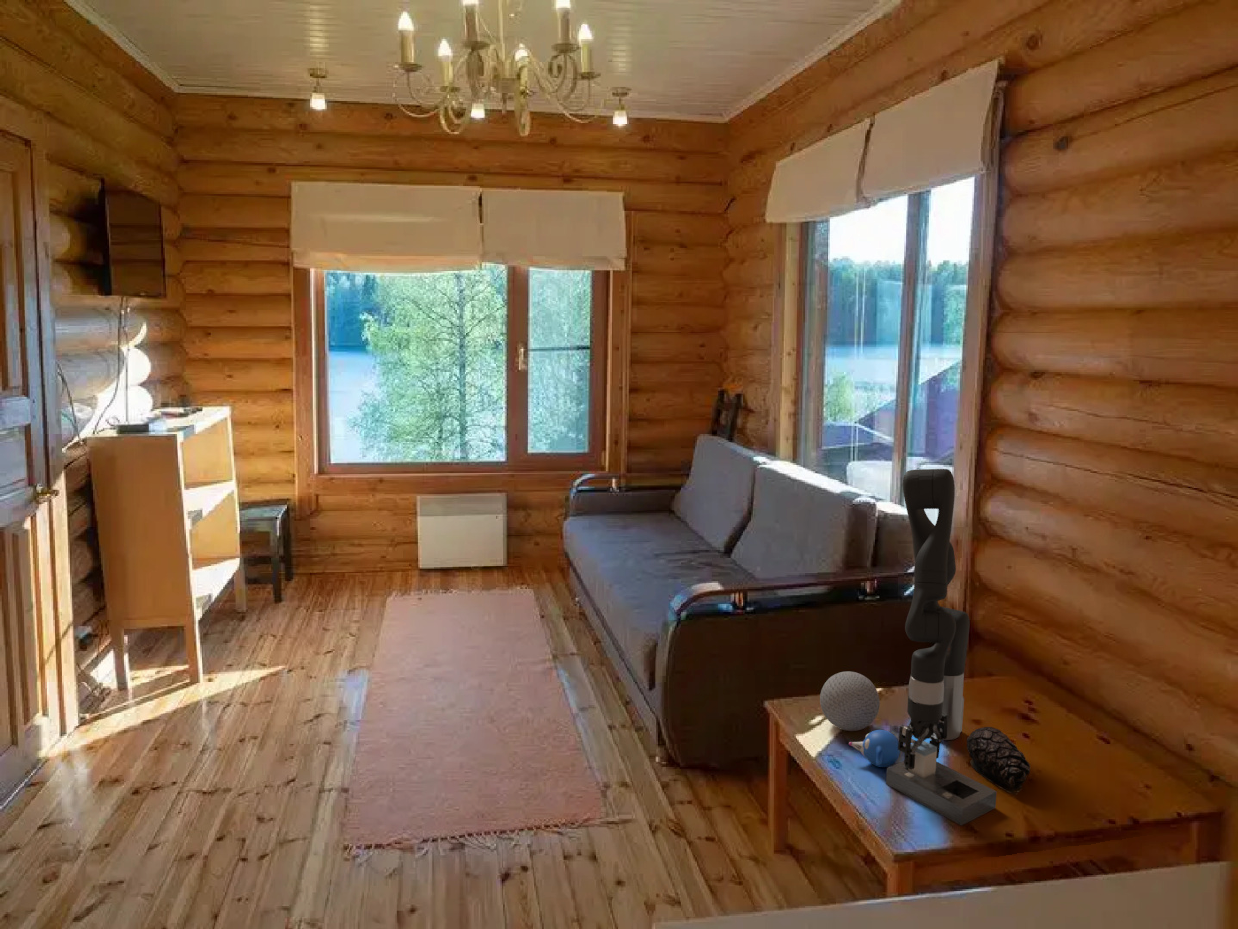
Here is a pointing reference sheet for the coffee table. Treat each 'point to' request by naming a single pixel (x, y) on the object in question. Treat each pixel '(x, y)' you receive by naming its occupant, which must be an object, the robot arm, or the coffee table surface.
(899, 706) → the coffee table surface
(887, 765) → the blue mole toy
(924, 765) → the plug
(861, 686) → the decorative ball
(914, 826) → the coffee table surface
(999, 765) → the pine cone
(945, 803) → the panel
